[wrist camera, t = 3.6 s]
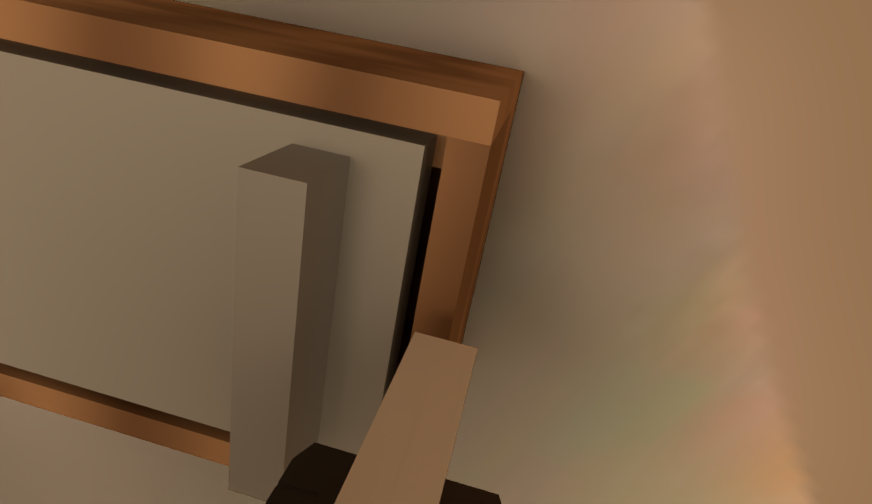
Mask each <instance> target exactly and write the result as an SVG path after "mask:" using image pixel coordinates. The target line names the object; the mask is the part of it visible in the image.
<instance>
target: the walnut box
mask: <svg viewBox="0 0 872 504" xmlns="http://www.w3.org/2000/svg"><path fill="white" fill-rule="evenodd" d="M0 38H1V39H6V40H10V41H15V42H19V43H24V44H28V45H33V46H38V47H42V48H47V49H51V50H56V51H60V52H65V53H69V54H74V55H78V56H83V57H88V58H92V59H97V60H101V61H106V62H110V63H115V64H119V65H124V66H128V67H133V68H137V69H142V70H147V71H151V72H156V73H160V74H165V75H169V76H174V77H178V78H183V79H187V80H192V81H197V82H201V83H206V84H210V85H215V86H219V87H224V88H228V89H233V90H237V91H242V92H246V93H251V94H256V95H260V96H265V97H269V98H274V99H278V100H283V101H287V102H292V103H296V104H301V105H306V106H310V107H315V108H319V109H324V110H328V111H333V112H337V113H342V114H346V115H351V116H355V117H360V118H365V119H369V120H374V121H378V122H383V123H387V124H392V125H396V126H401V127H405V128H410V129H415V130H419V131H424V132H428V133H433V134H437V135H438V136H437V142H436V147H435V153H434V159H433V164H432V170H431V176H430V181H429V187H428V193H427V198H426V204H425V210H424V216H423V221H422V227H421V233H420V238H419V244H418V250H417V255H416V261H415V267H414V272H413V278H412V284H411V289H410V295H409V301H408V306H407V312H406V318H405V324H404V329H403V335H402V341H401V346H400V352H399V358H398V363H397V369H398V367H399V365H400V362H401V360H402V358H403V356H404V354H405V352H406V350H407V347H408V345H409V343H410V341H411V339H412V337H413V335H414V333H415V332H418V333H422V334H426V335H429V336H433V337H437V338H441V339H444V340H448V341H452V342H456V343H459V344H462V341H463V336H464V332H465V328H466V323H467V319H468V315H469V310H470V306H471V302H472V297H473V293H474V288H475V284H476V280H477V275H478V271H479V267H480V262H481V258H482V254H483V249H484V245H485V241H486V236H487V232H488V227H489V223H490V219H491V214H492V210H493V206H494V201H495V197H496V193H497V188H498V184H499V179H500V175H501V171H502V166H503V162H504V158H505V153H506V149H507V145H508V140H509V136H510V131H511V127H512V123H513V118H514V114H515V110H516V105H517V101H518V97H519V92H520V88H521V83H522V79H523V75H524V71H520V70H515V69H510V68H505V67H500V66H496V65H491V64H486V63H481V62H476V61H471V60H466V59H461V58H456V57H451V56H446V55H441V54H436V53H431V52H426V51H421V50H416V49H411V48H407V47H402V46H397V45H392V44H387V43H382V42H377V41H372V40H367V39H362V38H357V37H352V36H347V35H342V34H337V33H332V32H327V31H322V30H318V29H313V28H308V27H303V26H298V25H293V24H288V23H283V22H278V21H273V20H268V19H263V18H258V17H253V16H248V15H243V14H238V13H233V12H228V11H224V10H219V9H214V8H209V7H204V6H199V5H194V4H189V3H184V2H179V1H174V0H0ZM397 369H396V371H397ZM0 396H3V397H6V398H9V399H13V400H16V401H19V402H22V403H26V404H29V405H32V406H35V407H39V408H42V409H45V410H48V411H52V412H55V413H58V414H61V415H65V416H68V417H71V418H74V419H78V420H81V421H84V422H87V423H91V424H94V425H97V426H100V427H104V428H107V429H110V430H113V431H117V432H120V433H123V434H126V435H129V436H133V437H136V438H139V439H142V440H146V441H149V442H152V443H155V444H159V445H162V446H165V447H168V448H172V449H175V450H178V451H181V452H185V453H188V454H191V455H194V456H198V457H201V458H204V459H207V460H211V461H214V462H217V463H220V464H224V465H227V466H229V459H230V432H229V431H226V430H222V429H219V428H216V427H212V426H209V425H206V424H203V423H199V422H196V421H193V420H189V419H186V418H183V417H179V416H176V415H173V414H169V413H166V412H163V411H159V410H156V409H153V408H149V407H146V406H143V405H139V404H136V403H133V402H129V401H126V400H123V399H119V398H116V397H113V396H109V395H106V394H103V393H99V392H96V391H93V390H89V389H86V388H83V387H79V386H76V385H73V384H69V383H66V382H63V381H59V380H56V379H53V378H49V377H46V376H43V375H39V374H36V373H33V372H29V371H26V370H23V369H19V368H16V367H13V366H9V365H6V364H3V363H0Z"/></svg>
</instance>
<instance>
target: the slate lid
mask: <svg viewBox="0 0 872 504" xmlns="http://www.w3.org/2000/svg"><path fill="white" fill-rule="evenodd" d="M437 136H438V135H437V134H433V133H428V132H424V131H419V130H415V129H410V128H405V127H401V126H396V125H392V124H387V123H383V122H378V121H374V120H369V119H365V118H360V117H355V116H351V115H346V114H342V113H337V112H333V111H328V110H324V109H319V108H315V107H310V106H306V105H301V104H296V103H292V102H287V101H283V100H278V99H274V98H269V97H265V96H260V95H256V94H251V93H246V92H242V91H237V90H233V89H228V88H224V87H219V86H215V85H210V84H206V83H201V82H197V81H192V80H187V79H183V78H178V77H174V76H169V75H165V74H160V73H156V72H151V71H147V70H142V69H137V68H133V67H128V66H124V65H119V64H115V63H110V62H106V61H101V60H97V59H92V58H88V57H83V56H78V55H74V54H69V53H65V52H60V51H56V50H51V49H47V48H42V47H38V46H33V45H28V44H24V43H19V42H15V41H10V40H6V39H1V38H0V363H3V364H6V365H9V366H13V367H16V368H19V369H23V370H26V371H29V372H33V373H36V374H39V375H43V376H46V377H49V378H53V379H56V380H59V381H63V382H66V383H69V384H73V385H76V386H79V387H83V388H86V389H89V390H93V391H96V392H99V393H103V394H106V395H109V396H113V397H116V398H119V399H123V400H126V401H129V402H133V403H136V404H139V405H143V406H146V407H149V408H153V409H156V410H159V411H163V412H166V413H169V414H173V415H176V416H179V417H183V418H186V419H189V420H193V421H196V422H199V423H203V424H206V425H209V426H212V427H216V428H219V429H222V430H226V431H229V432H230V459H229V490H232V491H235V492H238V493H241V494H244V495H248V496H251V497H254V498H257V499H260V500H263V501H267V499H268V498H269V496H270V494H271V493H272V491H273V490H274V488H275V486H277V485H278V481H279V480H280V478H281V477H282V475H283V473H284V472H285V470H286V468H287V467H288V465H289V464H290V462H291V460H292V459H293V458H294V457H295V456H297V455H298V454H299V453H301V452H302V451H304V450H305V449H306V448H308V447H309V446H310V445H312V444H313V443H314V442H316V443H319V444H323V445H326V446H329V447H333V448H336V449H339V450H343V451H346V452H350V453H353V454H356V455H357V454H358V452H359V450H360V448H361V446H362V444H363V441H364V439H365V437H366V435H367V433H368V431H369V429H370V426H371V424H372V422H373V420H374V418H375V416H376V414H377V412H378V409H379V407H380V405H381V403H382V401H383V399H384V397H385V394H386V392H387V390H388V388H389V386H390V384H391V382H392V380H393V377H394V375H395V373H396V369H397V363H398V358H399V352H400V346H401V341H402V335H403V329H404V324H405V318H406V312H407V306H408V301H409V295H410V289H411V284H412V278H413V272H414V267H415V261H416V255H417V250H418V244H419V238H420V233H421V227H422V221H423V216H424V210H425V204H426V198H427V193H428V187H429V181H430V176H431V170H432V164H433V159H434V153H435V147H436V142H437Z"/></svg>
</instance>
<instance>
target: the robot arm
mask: <svg viewBox="0 0 872 504" xmlns="http://www.w3.org/2000/svg"><path fill="white" fill-rule="evenodd" d="M477 349H478V348H474V347H471V346H467V345H463V344H459V343H456V342H452V341H448V340H444V339H441V338H437V337H433V336H429V335H426V334H422V333H418V332H415V333H414V335H413V337H412V339H411V341H410V343H409V345H408V347H407V350H406V352H405V354H404V356H403V358H402V360H401V362H400V365H399V367H398V369H397V371H396V373H395V375H394V377H393V380H392V382H391V384H390V386H389V388H388V390H387V392H386V394H385V397H384V399H383V401H382V403H381V405H380V407H379V409H378V412H377V414H376V416H375V418H374V420H373V422H372V424H371V426H370V429H369V431H368V433H367V435H366V437H365V439H364V441H363V444H362V446H361V448H360V450H359V452H358V454H357V455H356V454H353V453H350V452H346V451H343V450H339V449H336V448H333V447H329V446H326V445H323V444H319V443H316V442H314V443H313V444H312V445H310V446H309V447H308V448H306V449H305V450H304V451H302V452H301V453H299V454H298V455H297V456H295V457H294V458H293V459H292V460H291V462H290V464H289V465H288V467H287V468H286V470H285V472H284V473H283V475H282V477H281V478H280V480H279V481H278V485H277V486H275V488H274V490H273V491H272V493H271V494H270V496H269V498H268V499H267V501H266V504H501V501H500V498H499V495H498V494H494V493H491V492H488V491H484V490H481V489H477V488H474V487H471V486H467V485H464V484H460V483H457V482H454V481H450V480H447V479H446V475H447V471H448V467H449V462H450V458H451V454H452V450H453V446H454V442H455V438H456V434H457V430H458V426H459V422H460V418H461V414H462V410H463V406H464V402H465V398H466V394H467V390H468V386H469V382H470V377H471V373H472V369H473V365H474V361H475V357H476V353H477Z"/></svg>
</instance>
